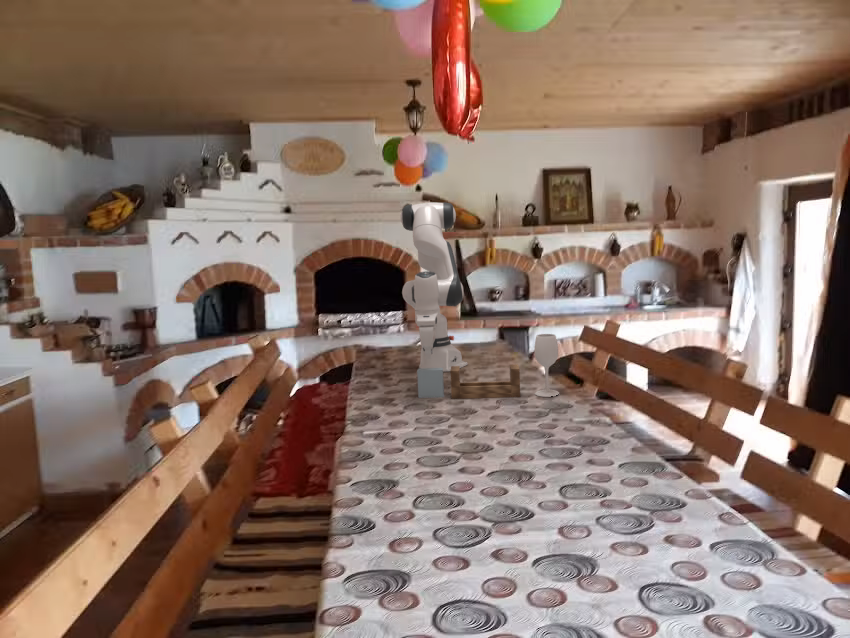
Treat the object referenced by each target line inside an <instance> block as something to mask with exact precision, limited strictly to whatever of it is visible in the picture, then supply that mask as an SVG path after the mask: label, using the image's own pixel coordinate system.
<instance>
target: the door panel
mask: <svg viewBox="0 0 850 638" xmlns="http://www.w3.org/2000/svg"><path fill="white" fill-rule="evenodd" d="M416 373H417V374H416V375H417V393H418V399H424V398H430V399H431V398H444V397H445V385H444V383H445V382H444V380H445V379H444V372H443V368H419V367H418V368H417V372H416Z"/></svg>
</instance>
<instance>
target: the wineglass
mask: <svg viewBox="0 0 850 638" xmlns="http://www.w3.org/2000/svg"><path fill="white" fill-rule="evenodd" d="M557 339H558V338H557V336H556V334H552V333H541V334H540V333H539V334H537V335H536V336H535V340H534V358H535V359H536V361H537V363H538V364H540V366H542V367H543V368H544V372H545V374H544V375H545V384H544V385H545V386H544V389H540V390H537V391H535V392H534V395H535V396H537V397H544V398H552V397H551V396H553V397H557V396H556V395H558V394H559V393H560V392H559V391H557V390H554V389H551V388H550V385H549V384H550V383H549V370H550V369H549V368H550V367H551V366H553V365H554V364H555V363H556V362H557V360H558V357H559V345H558V340H557ZM559 395H560V394H559ZM559 395H558V396H559Z"/></svg>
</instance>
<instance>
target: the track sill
mask: <svg viewBox="0 0 850 638" xmlns="http://www.w3.org/2000/svg"><path fill="white" fill-rule="evenodd" d="M460 369H461V368H460V366H451V371H449V372H450V390H451V394H450V395H451V400H455V399H457V400H459V399H463V400H464V399H496V398H499V399H500V398H501V399H502V398H521V376H520V373H521V372H520V371H521V370H520V366H519V364H518V363H515V364H509V380H507V381H505V380H504V381H501V380H500V381H498V380H497V381H474V382H473V381H469V382H468V381H467V382H461V370H460Z"/></svg>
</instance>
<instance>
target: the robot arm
mask: <svg viewBox="0 0 850 638" xmlns="http://www.w3.org/2000/svg"><path fill="white" fill-rule="evenodd" d="M401 210H402V211H401V214H400V222H401V224H402V227H403V229H405V230H407V231H412V241H413V245H414V248H415V249H416V250H417V261H418V265H419V267H420V268H421V269H423V270H425V271H420V272H417V273H416V274H415V276H414V279H412V280H408V281H406V282H405V283H404V285H403V286H402V291H401V294H402V298H403V300H404V301H405V302H406V304H408V305H409V306H410V307H412V309H414V316H415V319H414V320H415V324H416V326H417V327H418V333H419V339H420V345H421V349H420V364H419V365H418V368H443V373H445V372H450V371H451V366H460V369H461V368H464V367H466V366H468V362H467V361H464V360H463V358H462V353H461V350H459V349H458V348H456V346H454V345H453V344H452V342H451V341H454V338H455V336H454V335H448V334H449V333H448V332H449V331H448V319H447V317H446V316H445V315H444V314H442V313H441V308H440V307H445V306H446V307H457V306H459V305H460V304H461V303H462V301H463V300H464V295H465V294H464V286H463V284H462V281H461V279H460V275H459V273H458V272H459V271H458V268H457V262H456V259H455V255H454V252H453V251H454V250H453V248H452V245H451V243H450V242H449V241H447V240H445V238H444V235H443V230H444V231H445V232H447V230H449V229H451V228H452V227H453V226H454V225H455V222H456V219H457V218H456V217H457V213H456V210H455V208H454V205H453V204H452V203H451V202H446V201H445V202H436V201H435V202H433V201H432V202H431V201H430V202H424V203H415V204H411V203H410V204H407V205H405V206H404V207H402V209H401Z"/></svg>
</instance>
